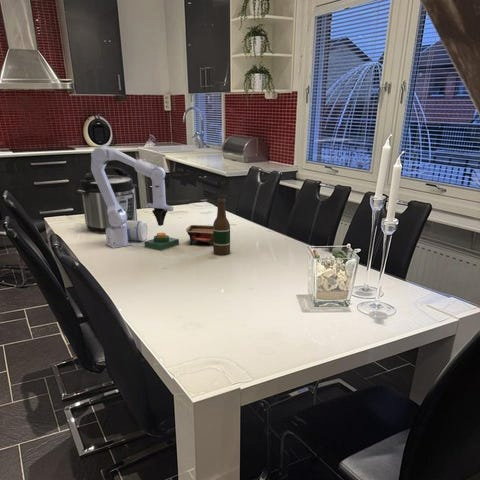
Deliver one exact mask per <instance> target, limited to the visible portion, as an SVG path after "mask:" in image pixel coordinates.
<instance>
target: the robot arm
mask: <svg viewBox="0 0 480 480" xmlns="http://www.w3.org/2000/svg"><path fill="white" fill-rule="evenodd" d="M90 156H91V159H90V161H91V162H90V164H91V165H90V172H91V171H92V173H93V175H94V178H95V180H96V182H97V185H98V187H99V189H100V192H101V194H102V196H103V199H104V201H105V203H106V206H107V214H108V217H109V218H108V221H109V223H110V225H111V227H109V228H106V233H105V239H106V243H105V244H106V245H107V246H108V247H110V248H112V249H115V248H116V249H117V248H120V247H121V248H122V247H129V246H132V243H130V242H129V240H128V235H127V225H126V223H125V222H126V220H127V214H126V212H125V211H123V209H122V207H121V206H120V205H119V204H118V202H117V200H116V197H115V195H114V192H113V190H112V188H111V185H110V183H109V181H108V178H107V176H106V175H107V173H106V171H105V170H106V169H105V167H107V164H108V163H109V162H110V161H119V162H121V163H124V164H126V165H128V166H131V167H133V169H134V171H135V172H137V173H139V174H141V175H142V176H144V177H147V178H150V180H151V190H152V203H151V202H148V203H146V204H145V206H146V207H145V208H146V209H153V210H152V211H151V212H152V214H153V216H154V217H155V219H156V223H157V226H160V227H162V226H164V224H165V223H164V222H165V219H166V216H167V213H168V212H171V213H172V212H174V206H173V205H169V204H167V200H166V199H167V198H166V182H165V177H166V171H165V169H164V167H162V166H159V165H158V166H157V165H156V164H152V163H150V162H148V161H147V159H145V158H138V159H136V158H134V157H132V156H130V155H128V154H126V153H124V152H122V151H120V150H119V149H116V148H114V147H111V146H109V145H101V146H96V147H94V148H93V150H92V151H91V154H90Z"/></svg>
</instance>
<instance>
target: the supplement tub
mask: <svg viewBox="0 0 480 480" xmlns="http://www.w3.org/2000/svg"><path fill="white" fill-rule="evenodd" d="M125 223H126V225H127V235H128V241H134V242H145V241H147V238H148V236H149V235H148V234H149V232H148V231H149V229H148V224H147V222H145V221H143V220H137V221H130V220H126V222H125Z"/></svg>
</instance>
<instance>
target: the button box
mask: <svg viewBox="0 0 480 480" xmlns="http://www.w3.org/2000/svg"><path fill="white" fill-rule="evenodd" d="M143 243H144V244H143V245H144V248H147V249H150V250H151V249H152V250H156V251H163V250H164V251H165V250H166V249H167V250H168V249H170V248H172V247H173V248H174V247H176V246H178V245H180V239H179V238H175V237H170V235H167V234H166V237H165V238H158V237H157V234H156V235H154V236H153V238H152V239H149V240H145V241H143Z"/></svg>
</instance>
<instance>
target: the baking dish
mask: <svg viewBox="0 0 480 480" xmlns="http://www.w3.org/2000/svg"><path fill="white" fill-rule="evenodd" d="M185 232H186V233H187V235H188V236H189V245H190V246H192V245H193V244H194V243H195V242H196V241H199V242H202V243H208V244H210V245H211V246H213V225H206V224H205V225H203V224H191V225H188V226H187V228H186V229H185Z"/></svg>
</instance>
